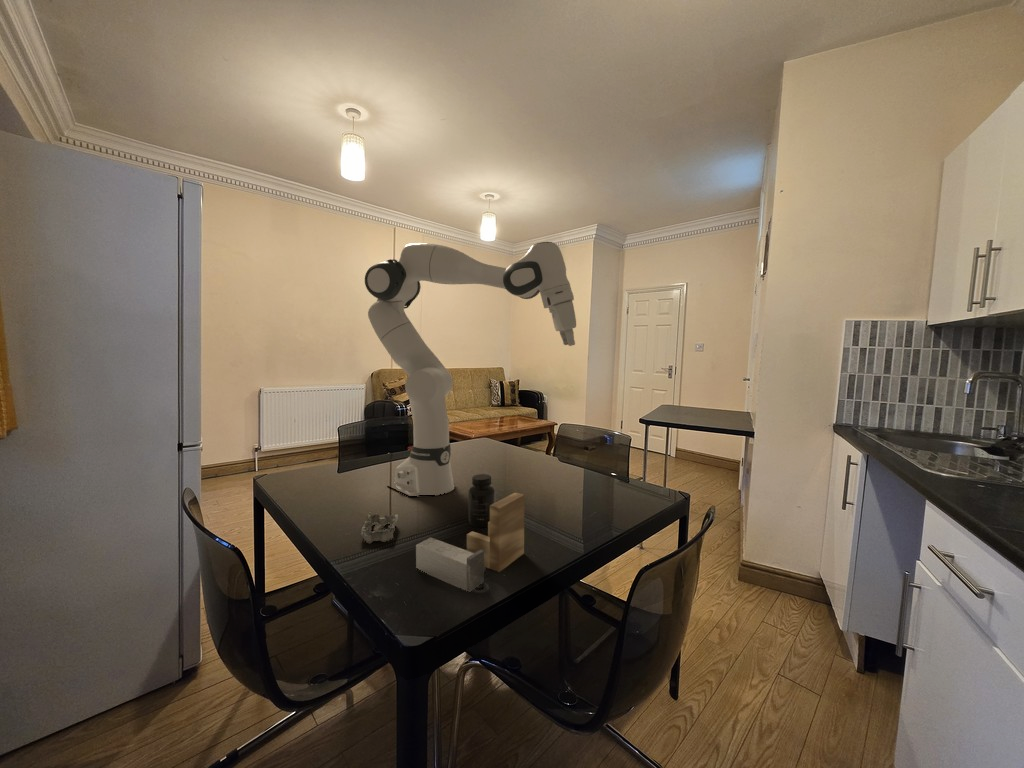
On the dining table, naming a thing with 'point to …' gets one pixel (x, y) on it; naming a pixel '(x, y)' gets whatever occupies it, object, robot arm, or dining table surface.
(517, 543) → the wooden step block
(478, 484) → the supplement bottle
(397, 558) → the dining table surface
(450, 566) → the light grey rectangular block
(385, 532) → the egg carton
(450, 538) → the dining table surface
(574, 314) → the robot arm
